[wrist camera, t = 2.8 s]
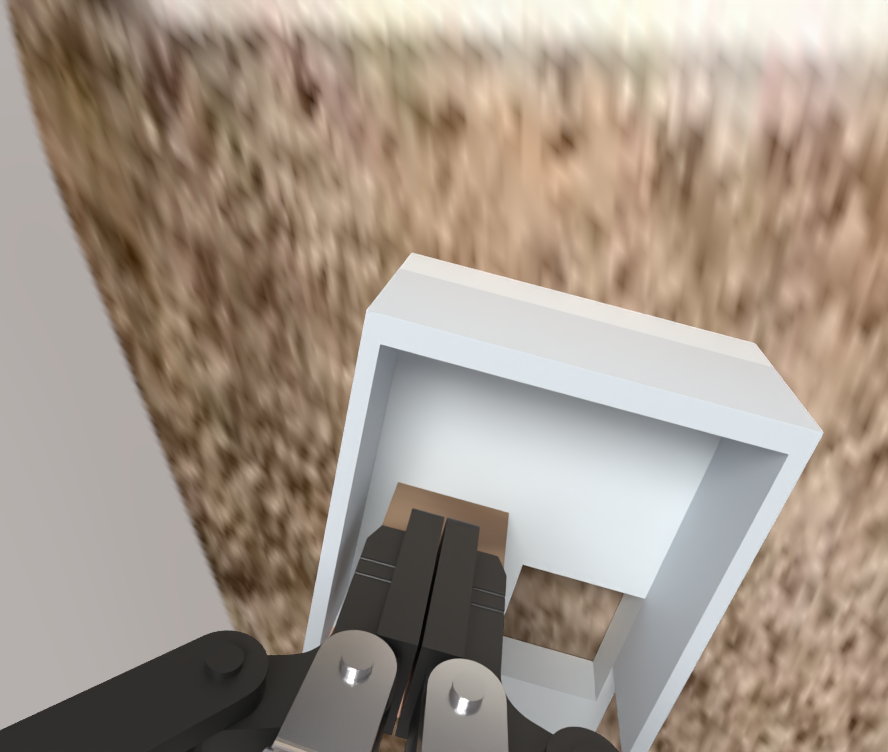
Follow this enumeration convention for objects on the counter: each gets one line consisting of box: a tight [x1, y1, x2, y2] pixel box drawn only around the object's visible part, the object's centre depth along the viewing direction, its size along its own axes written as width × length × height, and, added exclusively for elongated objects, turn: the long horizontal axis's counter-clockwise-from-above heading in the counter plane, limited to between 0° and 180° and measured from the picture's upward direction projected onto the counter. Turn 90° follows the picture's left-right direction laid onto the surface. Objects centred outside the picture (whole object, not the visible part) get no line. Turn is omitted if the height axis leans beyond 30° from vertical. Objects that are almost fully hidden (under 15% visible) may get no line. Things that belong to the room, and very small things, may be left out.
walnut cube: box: [382, 482, 509, 568], centre depth 22 cm, size 4×4×4 cm
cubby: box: [303, 253, 824, 752], centre depth 23 cm, size 12×19×6 cm, turn 167°
